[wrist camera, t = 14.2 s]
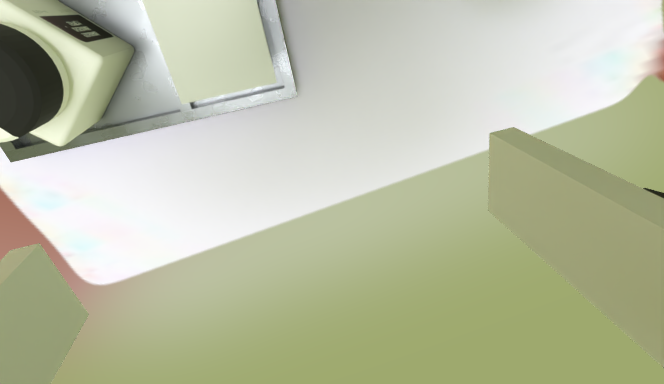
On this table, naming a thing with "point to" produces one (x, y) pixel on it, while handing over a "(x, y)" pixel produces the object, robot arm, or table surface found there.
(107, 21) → the rack tray
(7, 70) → the container
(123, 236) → the table surface
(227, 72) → the filler block
